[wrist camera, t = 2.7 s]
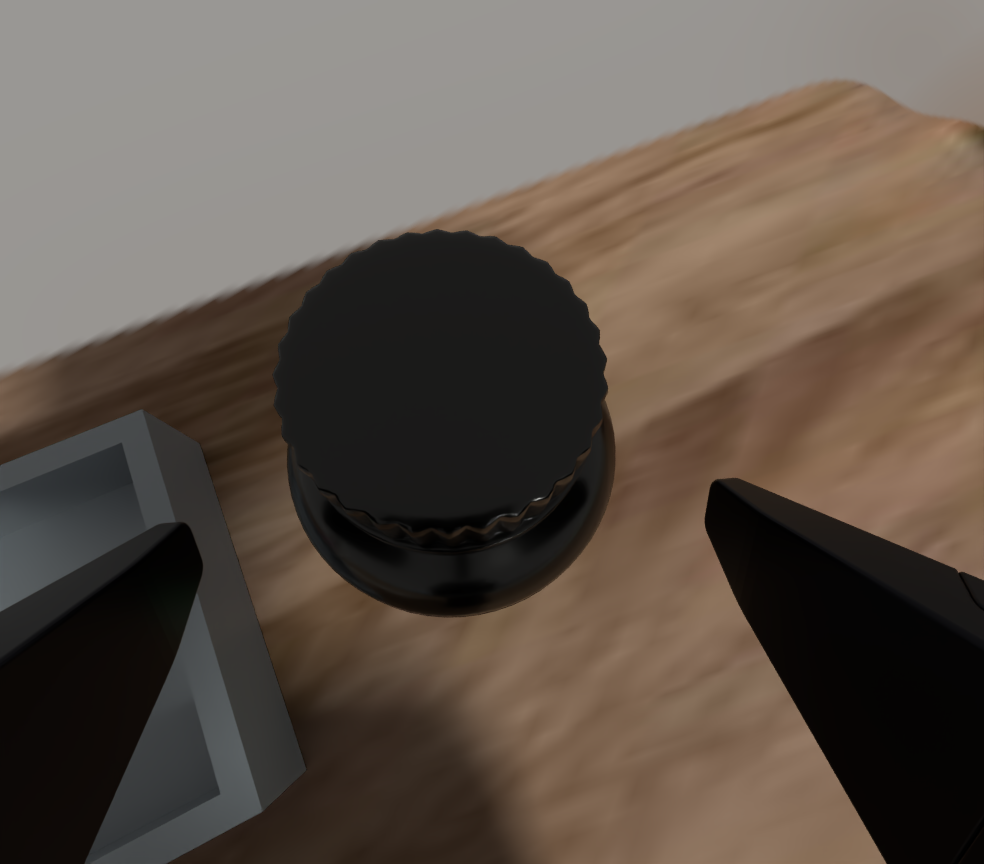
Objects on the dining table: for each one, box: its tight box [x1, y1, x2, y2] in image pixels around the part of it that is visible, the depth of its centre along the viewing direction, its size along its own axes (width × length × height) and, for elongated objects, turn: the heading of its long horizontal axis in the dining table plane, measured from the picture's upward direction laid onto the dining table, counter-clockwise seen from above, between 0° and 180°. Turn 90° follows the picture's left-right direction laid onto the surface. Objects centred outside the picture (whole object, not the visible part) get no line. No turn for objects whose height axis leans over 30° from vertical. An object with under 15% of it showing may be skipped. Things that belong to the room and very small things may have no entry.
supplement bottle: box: [273, 229, 615, 617], centre depth 13 cm, size 7×7×12 cm
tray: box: [0, 409, 307, 864], centre depth 15 cm, size 12×12×4 cm
